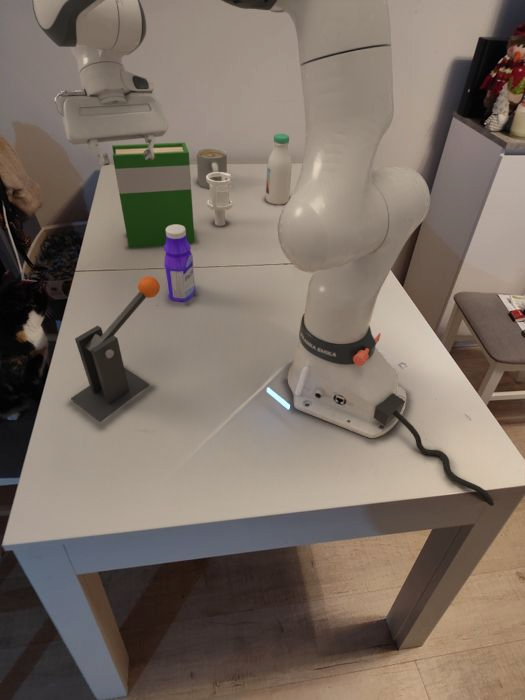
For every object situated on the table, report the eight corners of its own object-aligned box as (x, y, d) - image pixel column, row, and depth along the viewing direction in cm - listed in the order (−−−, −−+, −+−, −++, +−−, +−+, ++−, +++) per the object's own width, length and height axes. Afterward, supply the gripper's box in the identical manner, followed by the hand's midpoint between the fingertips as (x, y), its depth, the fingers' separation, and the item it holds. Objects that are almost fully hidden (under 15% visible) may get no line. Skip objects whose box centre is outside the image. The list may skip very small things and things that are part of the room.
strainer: (226, 230, 129) (226, 179, 119) (204, 226, 130) (201, 174, 120) (235, 220, 134) (235, 170, 124) (213, 216, 135) (212, 166, 125)
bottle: (188, 308, 101) (183, 238, 89) (165, 304, 101) (156, 234, 90) (198, 290, 106) (194, 222, 94) (176, 286, 107) (169, 218, 95)
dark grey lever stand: (121, 369, 85) (107, 312, 76) (150, 388, 82) (139, 331, 73) (72, 403, 79) (50, 345, 69) (101, 425, 75) (82, 367, 66)
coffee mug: (199, 176, 158) (197, 147, 151) (227, 177, 158) (226, 148, 152) (196, 192, 148) (194, 161, 141) (226, 193, 148) (226, 162, 142)
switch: (152, 281, 79) (143, 269, 75) (167, 289, 77) (158, 277, 74) (91, 353, 74) (79, 343, 71) (105, 362, 73) (93, 353, 70)
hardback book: (128, 248, 119) (112, 155, 103) (127, 235, 124) (112, 145, 108) (194, 242, 123) (188, 152, 107) (191, 230, 128) (184, 142, 112)
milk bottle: (293, 199, 147) (299, 135, 134) (281, 207, 142) (286, 141, 129) (273, 193, 150) (277, 129, 136) (261, 201, 145) (263, 135, 131)
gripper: (53, 83, 80) (78, 163, 82) (159, 80, 89) (179, 151, 92) (49, 98, 85) (73, 172, 88) (150, 93, 95) (169, 161, 98)
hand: (128, 161), depth 90 cm, fingers open, 8 cm apart
